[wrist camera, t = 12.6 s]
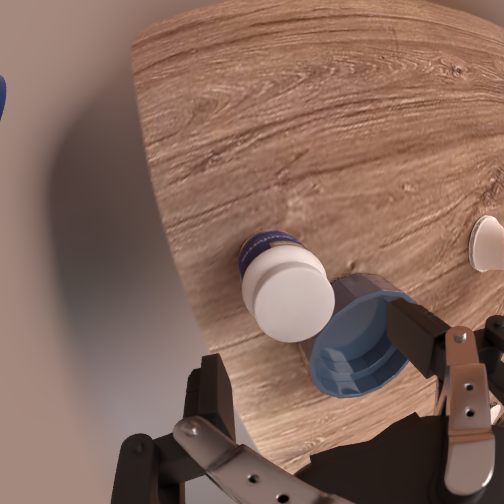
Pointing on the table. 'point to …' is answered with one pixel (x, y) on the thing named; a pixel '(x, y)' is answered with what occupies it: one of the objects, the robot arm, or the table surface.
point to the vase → (487, 245)
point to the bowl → (355, 340)
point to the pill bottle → (284, 286)
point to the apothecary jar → (500, 421)
